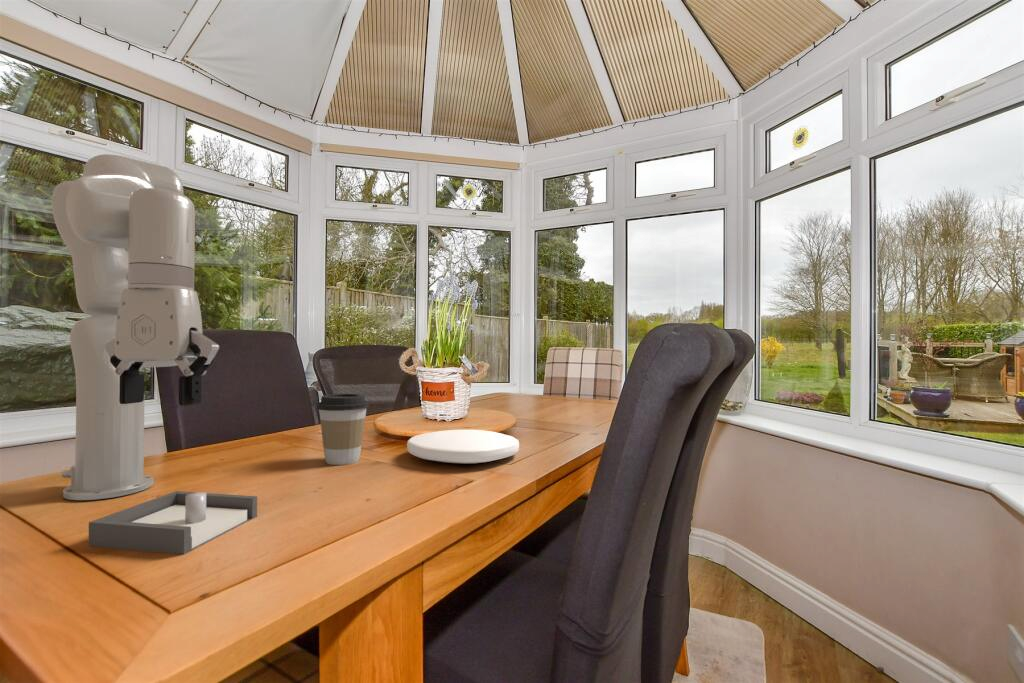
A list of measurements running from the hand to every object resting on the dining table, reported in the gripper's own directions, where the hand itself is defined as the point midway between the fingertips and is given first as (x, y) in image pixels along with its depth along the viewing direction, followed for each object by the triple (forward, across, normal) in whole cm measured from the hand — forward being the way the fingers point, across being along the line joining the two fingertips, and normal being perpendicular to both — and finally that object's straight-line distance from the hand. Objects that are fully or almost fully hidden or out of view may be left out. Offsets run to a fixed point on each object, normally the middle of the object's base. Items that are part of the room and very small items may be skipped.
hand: (160, 403), depth 67 cm
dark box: (+18, +4, 0) cm, 19 cm away
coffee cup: (+18, +4, +44) cm, 48 cm away
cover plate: (+17, +4, 0) cm, 18 cm away
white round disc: (+19, +30, +54) cm, 64 cm away
